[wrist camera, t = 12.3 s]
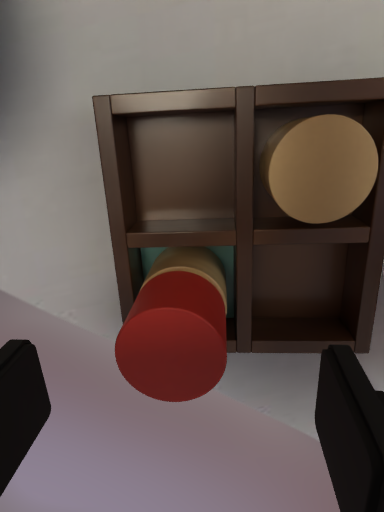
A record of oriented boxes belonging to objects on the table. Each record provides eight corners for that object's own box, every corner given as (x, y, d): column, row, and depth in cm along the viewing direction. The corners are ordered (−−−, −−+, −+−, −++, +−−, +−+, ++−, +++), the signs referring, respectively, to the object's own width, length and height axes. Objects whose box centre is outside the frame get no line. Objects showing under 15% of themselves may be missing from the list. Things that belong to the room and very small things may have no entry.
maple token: (225, 241, 19) (226, 265, 15) (226, 311, 20) (227, 347, 17) (147, 243, 19) (132, 267, 16) (154, 311, 21) (141, 346, 17)
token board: (379, 85, 16) (412, 75, 13) (349, 324, 21) (369, 354, 18) (112, 101, 17) (91, 95, 15) (138, 324, 22) (126, 352, 19)
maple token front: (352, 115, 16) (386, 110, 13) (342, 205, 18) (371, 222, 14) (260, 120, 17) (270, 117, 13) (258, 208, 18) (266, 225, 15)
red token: (224, 269, 16) (226, 307, 12) (226, 350, 17) (227, 404, 14) (131, 270, 16) (107, 307, 13) (140, 349, 17) (121, 401, 14)
